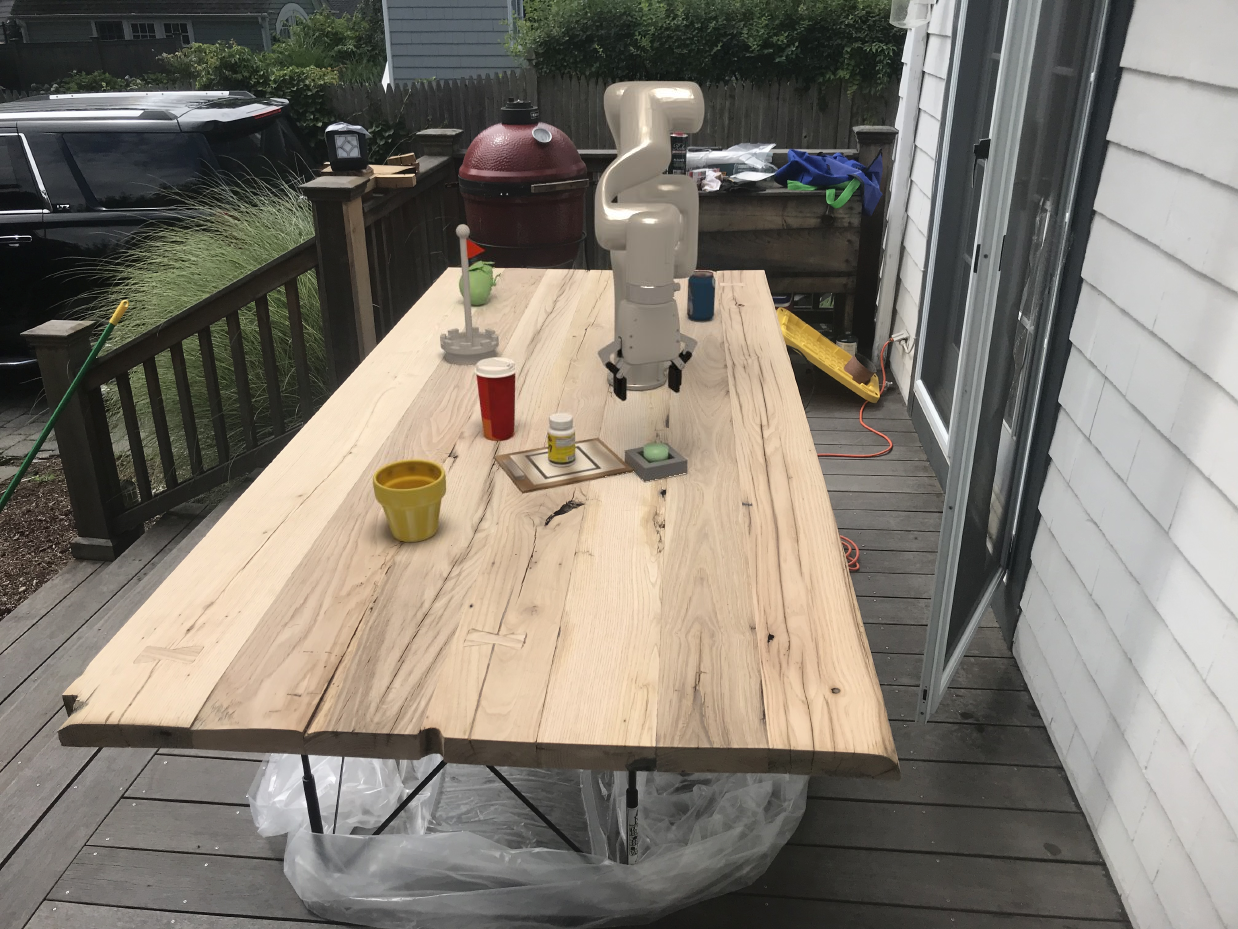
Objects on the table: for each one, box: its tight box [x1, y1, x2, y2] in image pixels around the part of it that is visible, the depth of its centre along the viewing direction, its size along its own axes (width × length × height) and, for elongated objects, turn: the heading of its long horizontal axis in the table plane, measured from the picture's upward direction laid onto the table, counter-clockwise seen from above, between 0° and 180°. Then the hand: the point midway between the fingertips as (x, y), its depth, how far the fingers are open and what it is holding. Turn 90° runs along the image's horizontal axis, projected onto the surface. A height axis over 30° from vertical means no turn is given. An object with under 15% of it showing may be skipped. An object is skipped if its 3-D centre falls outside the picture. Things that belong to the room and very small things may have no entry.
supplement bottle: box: [546, 412, 576, 467], centre depth 162 cm, size 5×5×8 cm
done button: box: [643, 442, 668, 463], centre depth 162 cm, size 4×4×3 cm
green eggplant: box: [458, 260, 502, 306], centre depth 255 cm, size 12×11×11 cm
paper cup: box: [473, 356, 518, 442], centre depth 173 cm, size 8×8×14 cm
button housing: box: [624, 442, 689, 482], centre depth 162 cm, size 8×8×3 cm
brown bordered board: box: [493, 437, 633, 494], centre depth 164 cm, size 20×15×1 cm
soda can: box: [686, 269, 717, 323], centre depth 242 cm, size 7×7×12 cm
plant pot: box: [372, 458, 447, 543], centre depth 141 cm, size 10×10×10 cm
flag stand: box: [439, 223, 500, 367], centre depth 210 cm, size 13×13×30 cm
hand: (647, 394), depth 157 cm, fingers open, 9 cm apart
